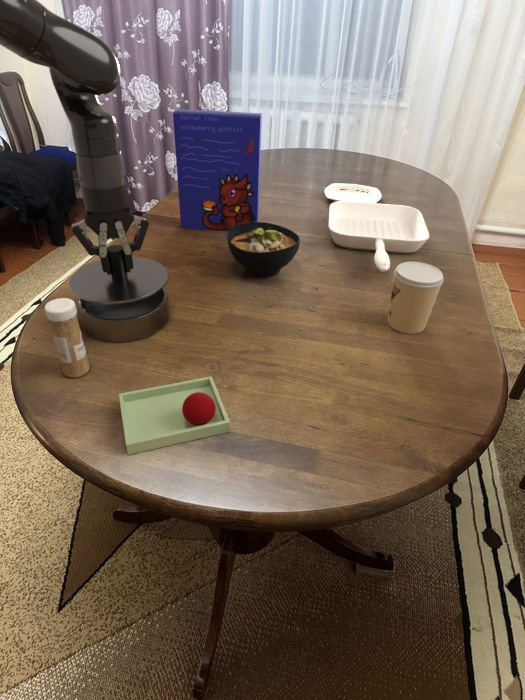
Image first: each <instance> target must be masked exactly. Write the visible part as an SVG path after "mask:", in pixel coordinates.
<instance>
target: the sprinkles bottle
mask: <svg viewBox="0 0 525 700" xmlns="http://www.w3.org/2000/svg"><path fill="white" fill-rule="evenodd" d="M44 313H45V317H46V319H47V320H48V322H49V325H50V329H51V333H52V335H51V336H52V338H53V341H54V345H55V348H56V352H57V354H58V358H59V360H60V363H61V367H62V373H63V374H64V376H66V377H68V378H79V377H82V376H84V375H87V373H89V371H90V369H91V365H90V363H89V360H88V356H87V350H86V346H85V343H84V338H83V334H82V331H81V328H80V323H79V320H78V316H77V315H78V310H77V305H76V302H75V300H73V299H71V298H67V297H59V298H56V299H51V300H50V301H48V302H47V303H46V304H45V305H44Z"/></svg>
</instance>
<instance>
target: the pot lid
mask: <svg viewBox="0 0 525 700" xmlns="http://www.w3.org/2000/svg"><path fill="white" fill-rule="evenodd" d="M106 253H107V255H108V259H109V265H110V271H111V275H107V272H104V271H103V270H102V264H101V259H97V260H95V261H92V262H90V263H87V264H85V265H83V266H81V267H80V268H78V269H77V270H76V271H74V272H73V274H72V275H71V276H70V278H69V281H68V285H69V289H70V291H71V293H72V294H73V295H74V296H75V297H76V298H78V297H79V298H80V299H83V300H85V301H89V302H92V303H98V304H123V303H129V302H134V301H138V300H142V299H145V298H147V297H150V296H152V295H154V294H156V293H157V292H159V291H160V290H161V289H162V288H163V287H165V286H166V285H167V284H168V281H169V271H168V270H167V268H166V267H165V266H164V265H163V264H161V263H160V262H158V261H156V260H154V259H150V258H147V257H143V256H142V257H140V256H132V259H133V266H134V267H133V269H130V271H131V272H129V273H127V270H126V264H125V257H124V248H123V246H122V245H120V244H112V245H109V246H106Z"/></svg>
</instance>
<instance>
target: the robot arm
mask: <svg viewBox="0 0 525 700" xmlns="http://www.w3.org/2000/svg"><path fill="white" fill-rule="evenodd" d="M0 46H2V47H3V48H5V49H7V50H8V51H10V52H11V53H13V54H15V55H17V56H18V57H19V58H22V59H23V60H26V61H28V62H29V63H32V64H35V65H39V66H42V67H46V68H48V70H49V75H50V78H51V82H52V85H53V88H54V90H55V92H56V94H57V97H58V99H59V102H60V104H61V107H62V109H63V112H64V114H65V115H66V118H67V120H68V122H69V124H70V128H71V129H70V130H71V135H72V140H73V146H74V151H75V158H76V169H77V174H78V181H79V186H80V189H81V195H82V199H83V205H84V209H85V210H84V211H85V213H84V215H83V216H84V217H83V219H81V220H79V221H78V222H77V221H73V222H72V223H71V232H72V233H73V235H74V236H75V237H76V239H77V240H78V242H79V243H80V244H81V245H82V247H83V249H85V251H86V252H87V254H88V256H91V257H93V256H97V257H99V258H100V259H99V260H101V264H102V270H103V271H104V272H107V275H111V271H110V265H109V259H108V255H107V250H106V249H107V247H108V246H107V245H108V240H110V239H113V238H114V239H119V241H120V243H121V246H122V247H123V250H124V257H125V264H126V270H127V273H129V272H131V271H130V269H133V267H134V266H133V259H132V257H133V253H134V252H136V251H140V250H141V249H142V246H143V244H144V240H145V237H146V234H147V231H148V229H149V226H150V223H149V220H148V217H147V216H145V215H142V216H139V215H135V214H134V212H133V210H132V209H131V204H130V197H129V190H128V181H127V173H126V169H125V162H124V158H123V156H122V151H121V144H120V143H121V142H120V137H119V130H118V124H117V120H116V118H115V117H114V115H113V114H112V113H111V112H109V111H108V110H106V109H105V108H103V107H102V105H101V104H100V101H99V99H98V96H106V95H109V94H111V93H112V92H114V91H115V90H116V89H117V87H118V85H119V83H120V79H121V66H120V64H119V63H120V62H119V60H118V58H117V56H116V55H115V53H114V52H113V49H111V48H110V46H109V45H108V44H107V43H106V42H104V41H103V40H102V39H101V38H99V37H98V36H96V35H95V34H93V33H91V32H89V31H88V30H87V29H84V28H83V27H81V26H78V25H77V24H75V23H73V22H71V21H70V20H67V19H66V18H63V17H62V16H59V15H57V14H55V13H54V12H53V11H51V10H49V9H48V8H47V7H46V6H45V5H44V4H42V3H41V2H40V1H39V0H0ZM133 223H134V227H135V229H136V230H135V234H134V237H133V240H132V241H131V242H129V239H128V236H127V233H128V232H129V230H130V227H131V226H132V225H133ZM87 227H88V228H89V229H90V230H91V231H92V232H93V233H94V234H96V235H97V236H98V237H97V239H98V245H95V244H94V243H93V242H92V241H91V239H90V238H89V237H88V235H87V232H88V231H87Z"/></svg>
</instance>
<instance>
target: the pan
mask: <svg viewBox="0 0 525 700" xmlns="http://www.w3.org/2000/svg"><path fill="white" fill-rule="evenodd" d="M327 226H328V230H329V234H330V236H331V238H332V241H333V243H334V245H337V246H338V247H341V248H344V249H349V250H359V251H371V252H375V253H374V258H373V260H374V264H375V267H376V268H377V270H379V271H380V272H388V271H389V269H390V268H391V260H390V256H389V254H388V253H394V254H414V253H416V252H417V251H419V250H420V249H421V248H422V247H423V245H425V243H427V241H428V240H429V239H430V232H429V230H428V227H427V223H426V222H425V219H424V217H423V213H422V211H420V210H419V209H418V208H415V207H413V206H410V205H409V206H408V205H402V204H391V203H389V204H388V203H378V202H377V203H366V202H354V201H337V202H334V201H333V202H331V203H330V205H329V211H328V225H327Z"/></svg>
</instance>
